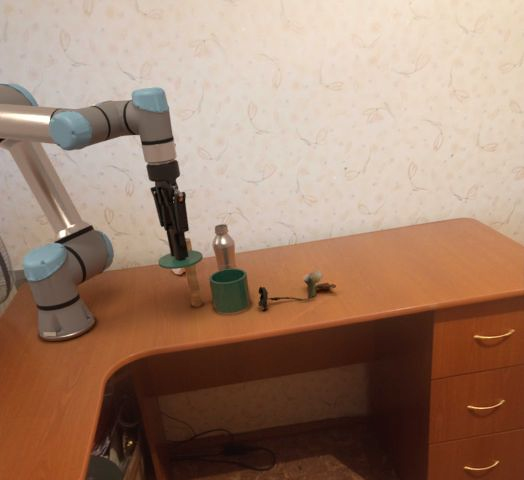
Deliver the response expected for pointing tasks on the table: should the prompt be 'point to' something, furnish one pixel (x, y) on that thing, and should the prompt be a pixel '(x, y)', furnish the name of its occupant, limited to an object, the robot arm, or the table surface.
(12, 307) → the table surface
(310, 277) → the artificial flower
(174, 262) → the lid
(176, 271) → the bust
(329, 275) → the table surface
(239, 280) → the pot
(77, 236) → the robot arm
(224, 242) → the plastic bottle
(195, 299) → the stick
